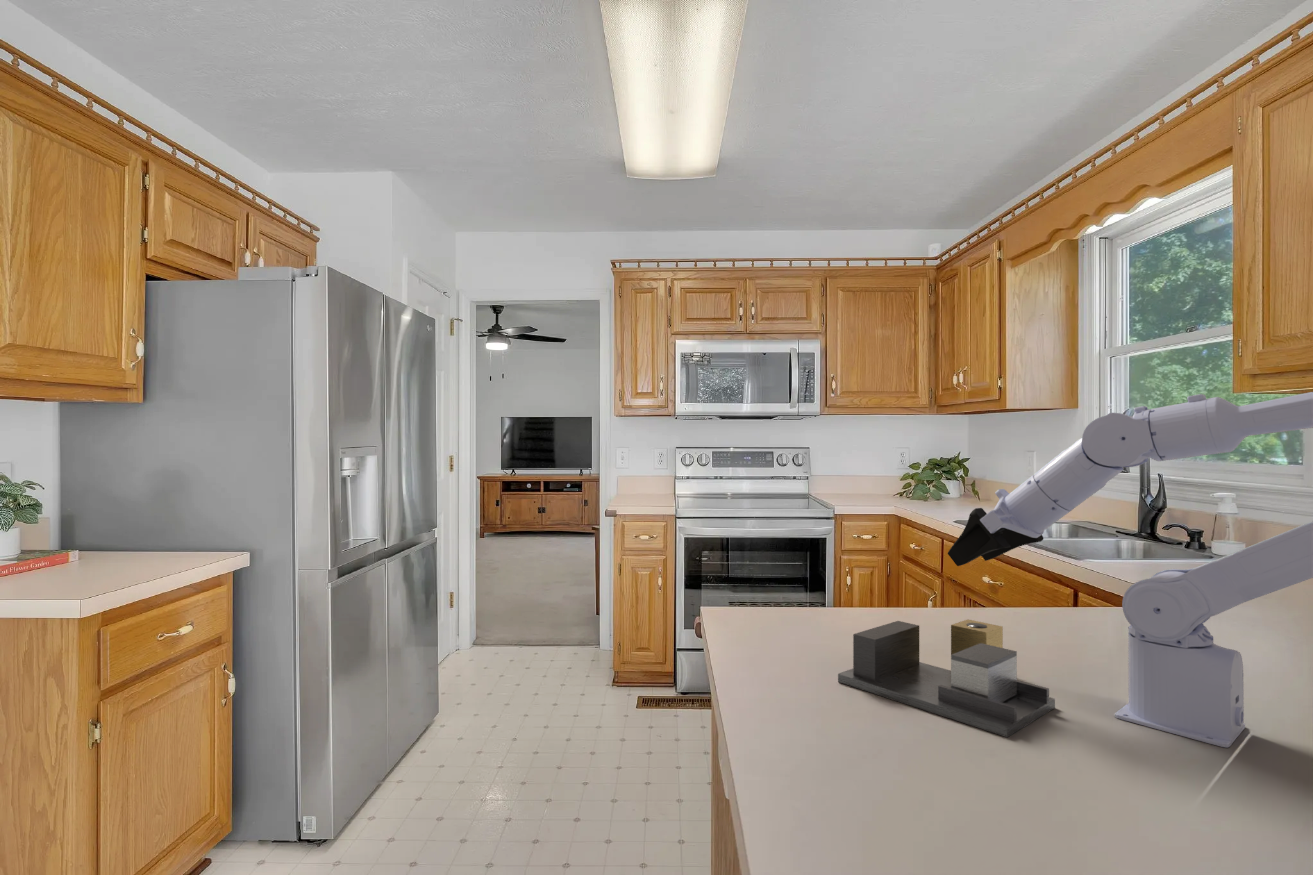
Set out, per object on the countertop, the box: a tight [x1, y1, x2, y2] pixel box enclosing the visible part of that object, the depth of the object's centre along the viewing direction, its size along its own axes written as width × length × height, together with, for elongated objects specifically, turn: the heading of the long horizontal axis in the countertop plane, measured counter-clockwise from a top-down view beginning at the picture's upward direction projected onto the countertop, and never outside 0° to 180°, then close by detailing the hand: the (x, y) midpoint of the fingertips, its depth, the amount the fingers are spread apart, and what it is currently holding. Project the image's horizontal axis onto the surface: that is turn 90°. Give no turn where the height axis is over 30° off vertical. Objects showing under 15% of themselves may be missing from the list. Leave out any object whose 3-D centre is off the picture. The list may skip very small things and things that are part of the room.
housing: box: [950, 619, 1004, 656], centre depth 86 cm, size 4×4×6 cm
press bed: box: [837, 620, 1056, 738], centre depth 78 cm, size 20×12×6 cm, turn 39°
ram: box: [950, 643, 1018, 702], centre depth 74 cm, size 4×7×5 cm, turn 129°
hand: (967, 556), depth 87 cm, fingers open, 7 cm apart
